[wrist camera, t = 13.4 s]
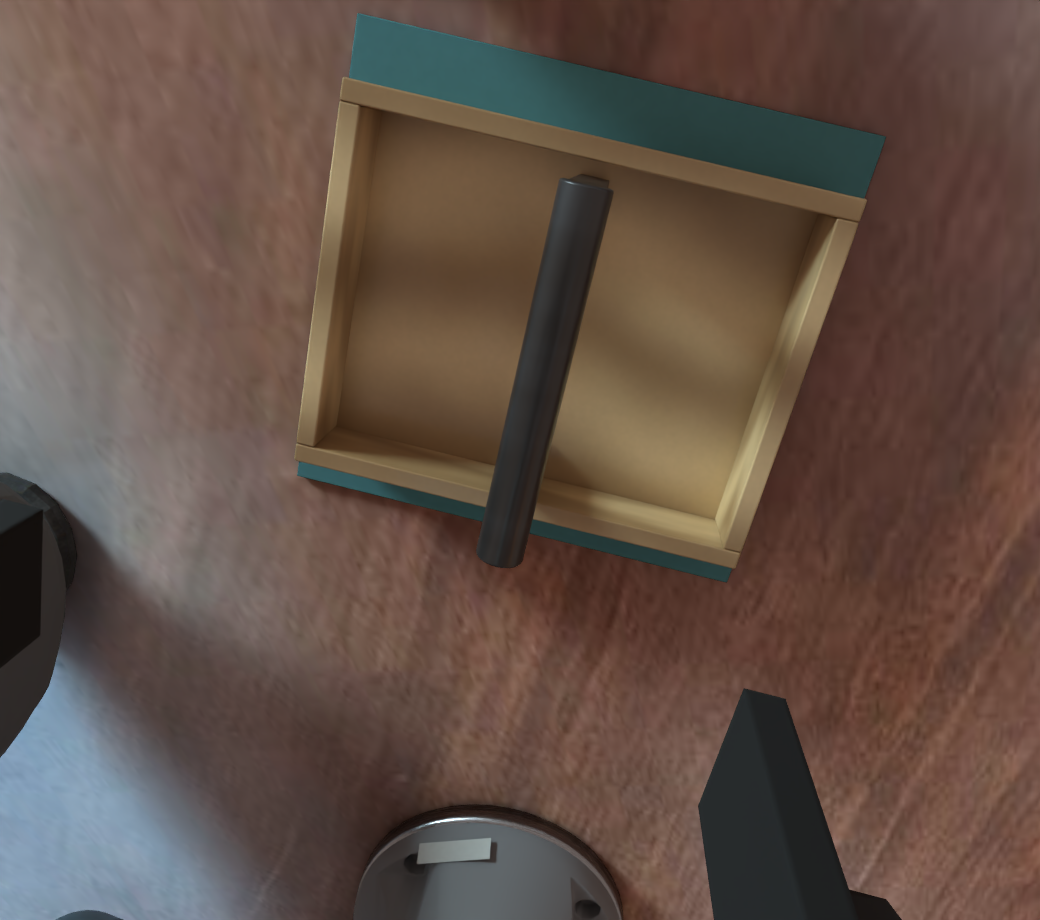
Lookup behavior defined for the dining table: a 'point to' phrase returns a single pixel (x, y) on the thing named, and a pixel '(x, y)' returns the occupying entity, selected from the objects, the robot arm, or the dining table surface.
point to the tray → (638, 337)
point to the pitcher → (25, 678)
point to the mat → (613, 115)
